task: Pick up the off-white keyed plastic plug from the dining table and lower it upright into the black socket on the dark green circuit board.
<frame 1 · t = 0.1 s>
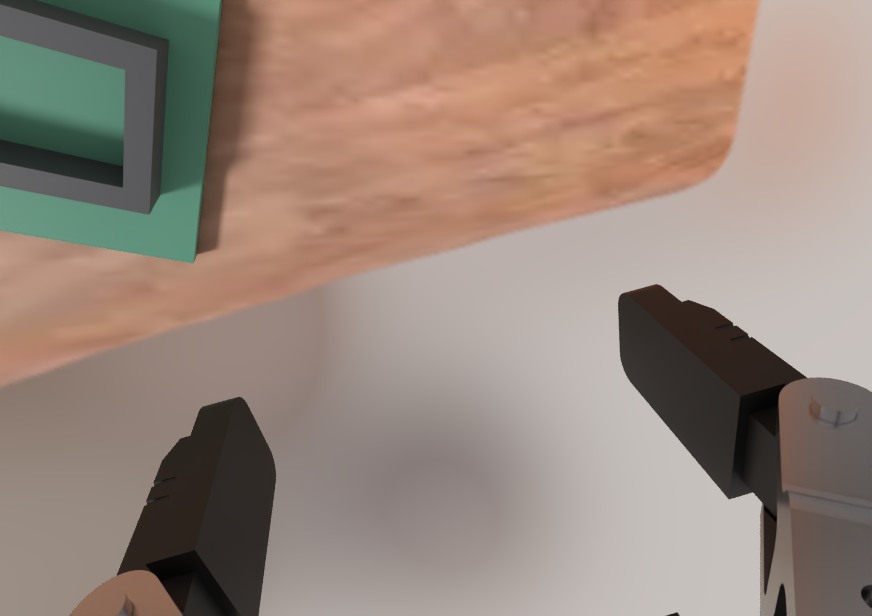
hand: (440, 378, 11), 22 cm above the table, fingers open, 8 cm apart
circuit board: (32, 83, 25), on the table
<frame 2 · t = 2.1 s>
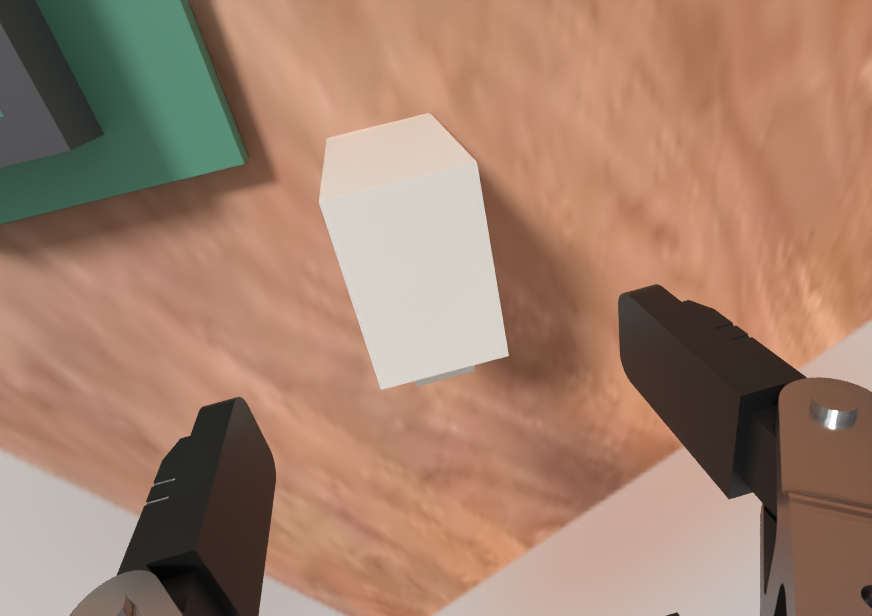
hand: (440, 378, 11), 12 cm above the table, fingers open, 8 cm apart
plug: (397, 200, 21), on the table
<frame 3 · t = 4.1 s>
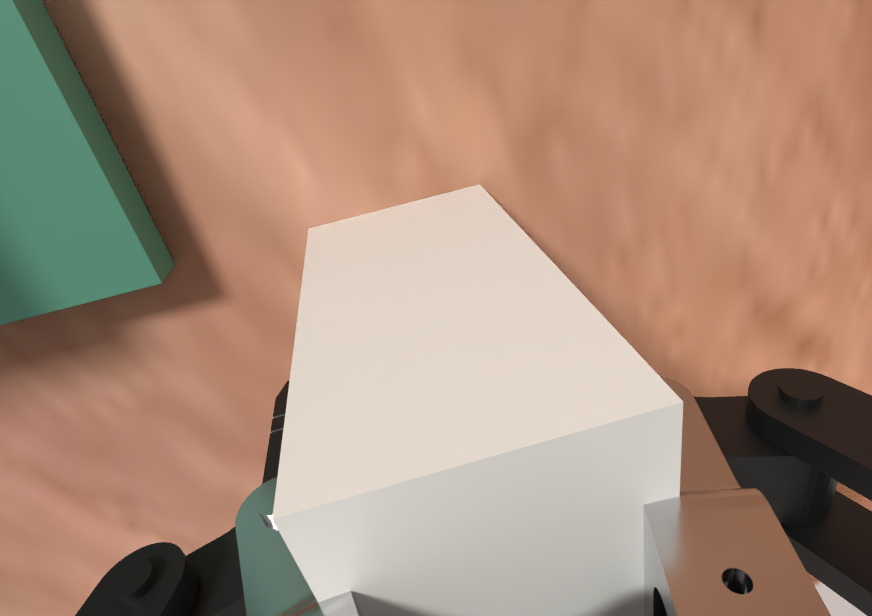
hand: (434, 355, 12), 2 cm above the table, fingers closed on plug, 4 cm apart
plug: (423, 317, 13), on the table, touching gripper
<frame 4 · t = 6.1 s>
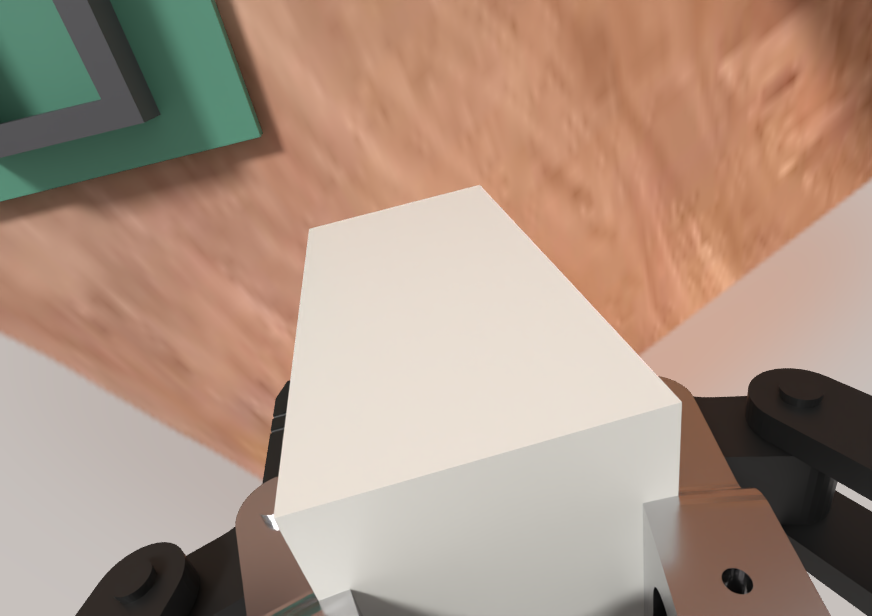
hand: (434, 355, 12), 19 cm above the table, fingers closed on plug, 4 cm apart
plug: (423, 317, 13), point 17 cm above the table, touching gripper
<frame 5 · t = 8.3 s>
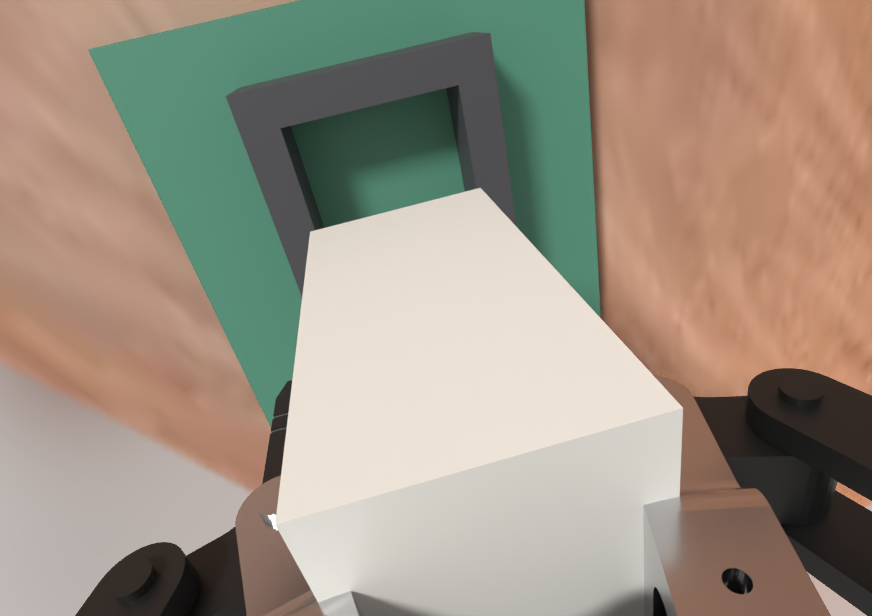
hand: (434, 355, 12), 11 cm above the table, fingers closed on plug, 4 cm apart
plug: (424, 319, 13), point 9 cm above the table, touching gripper
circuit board: (396, 216, 21), on the table
when the fingers open (5 cm above the table, at t = 9.9 s): plug drops 2 cm, resting on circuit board.
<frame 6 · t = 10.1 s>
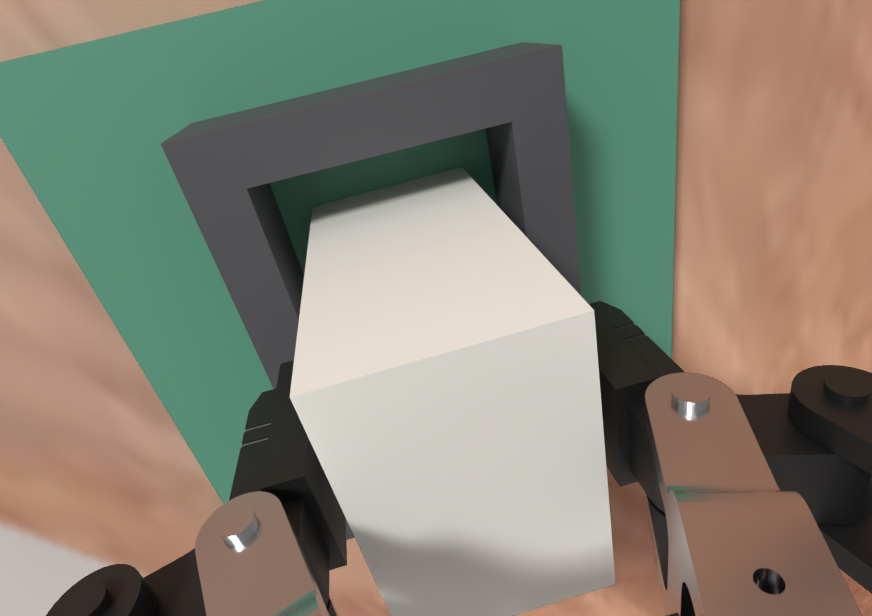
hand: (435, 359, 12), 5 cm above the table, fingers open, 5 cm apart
plug: (414, 286, 15), point 1 cm above the table, touching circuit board
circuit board: (411, 285, 16), on the table
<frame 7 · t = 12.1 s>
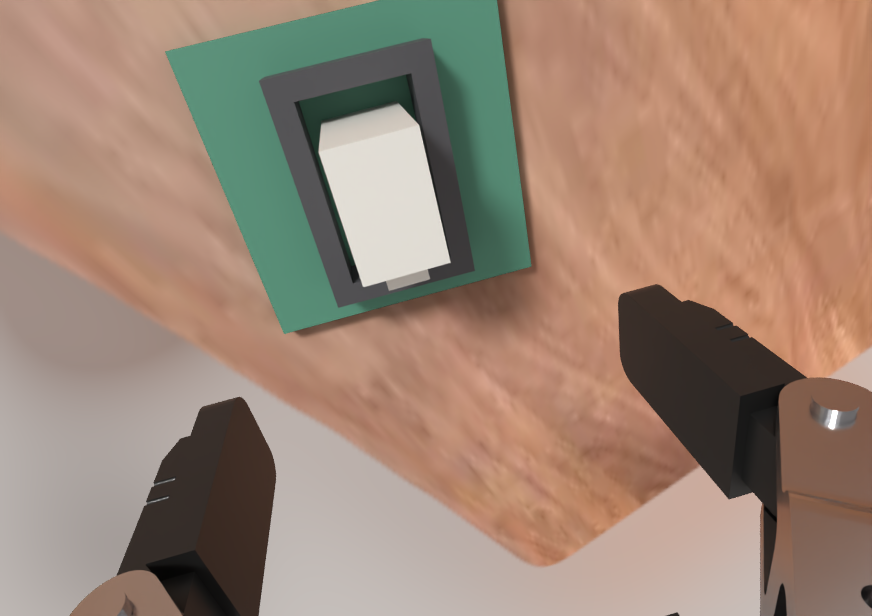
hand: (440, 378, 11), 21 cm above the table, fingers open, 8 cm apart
plug: (374, 167, 29), point 1 cm above the table, touching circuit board
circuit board: (374, 171, 30), on the table
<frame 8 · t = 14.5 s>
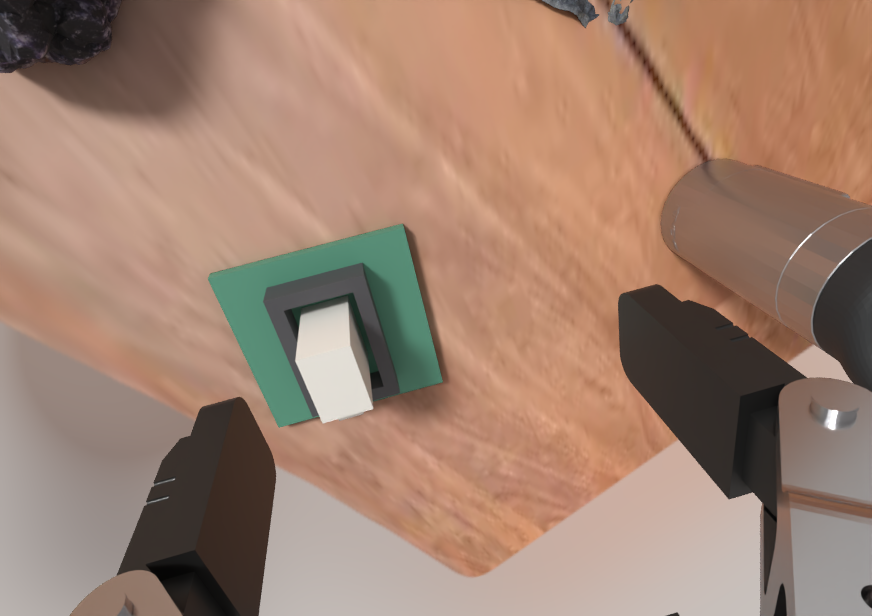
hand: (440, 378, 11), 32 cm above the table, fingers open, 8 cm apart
plug: (335, 331, 45), point 1 cm above the table, touching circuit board
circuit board: (336, 329, 46), on the table
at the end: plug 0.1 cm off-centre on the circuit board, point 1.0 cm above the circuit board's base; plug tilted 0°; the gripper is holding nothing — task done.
